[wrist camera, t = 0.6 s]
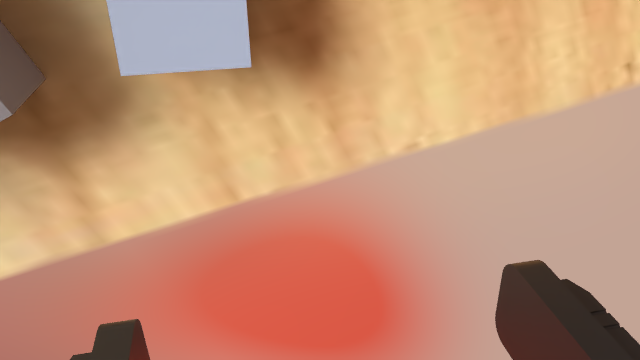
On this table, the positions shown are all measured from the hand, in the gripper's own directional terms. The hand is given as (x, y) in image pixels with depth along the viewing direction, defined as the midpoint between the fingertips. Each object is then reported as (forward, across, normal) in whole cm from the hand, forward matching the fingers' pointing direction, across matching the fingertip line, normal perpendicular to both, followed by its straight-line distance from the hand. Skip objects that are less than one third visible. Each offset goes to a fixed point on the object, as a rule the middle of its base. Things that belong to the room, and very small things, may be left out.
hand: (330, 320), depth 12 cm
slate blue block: (+23, +3, -4) cm, 23 cm away
